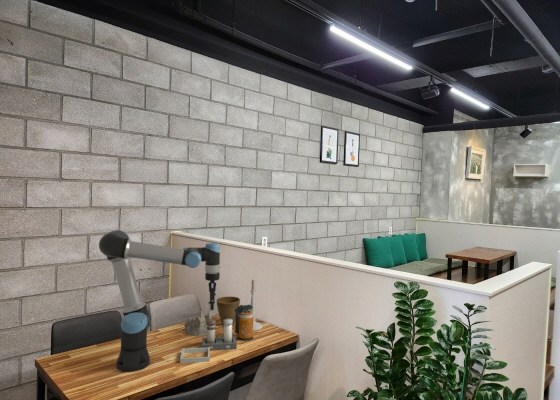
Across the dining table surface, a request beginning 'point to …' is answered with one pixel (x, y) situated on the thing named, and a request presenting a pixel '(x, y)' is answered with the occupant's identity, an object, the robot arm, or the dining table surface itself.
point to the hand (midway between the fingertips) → (212, 311)
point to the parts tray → (195, 359)
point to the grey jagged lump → (197, 325)
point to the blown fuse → (211, 330)
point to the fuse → (228, 330)
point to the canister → (244, 322)
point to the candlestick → (256, 325)
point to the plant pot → (227, 308)
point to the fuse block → (220, 344)
